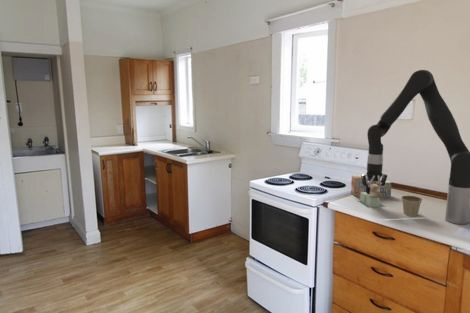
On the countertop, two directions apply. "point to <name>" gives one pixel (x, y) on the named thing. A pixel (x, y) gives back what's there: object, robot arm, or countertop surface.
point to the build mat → (370, 207)
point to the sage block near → (372, 201)
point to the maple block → (374, 190)
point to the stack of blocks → (359, 187)
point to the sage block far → (363, 197)
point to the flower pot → (411, 205)
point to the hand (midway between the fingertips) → (373, 193)
